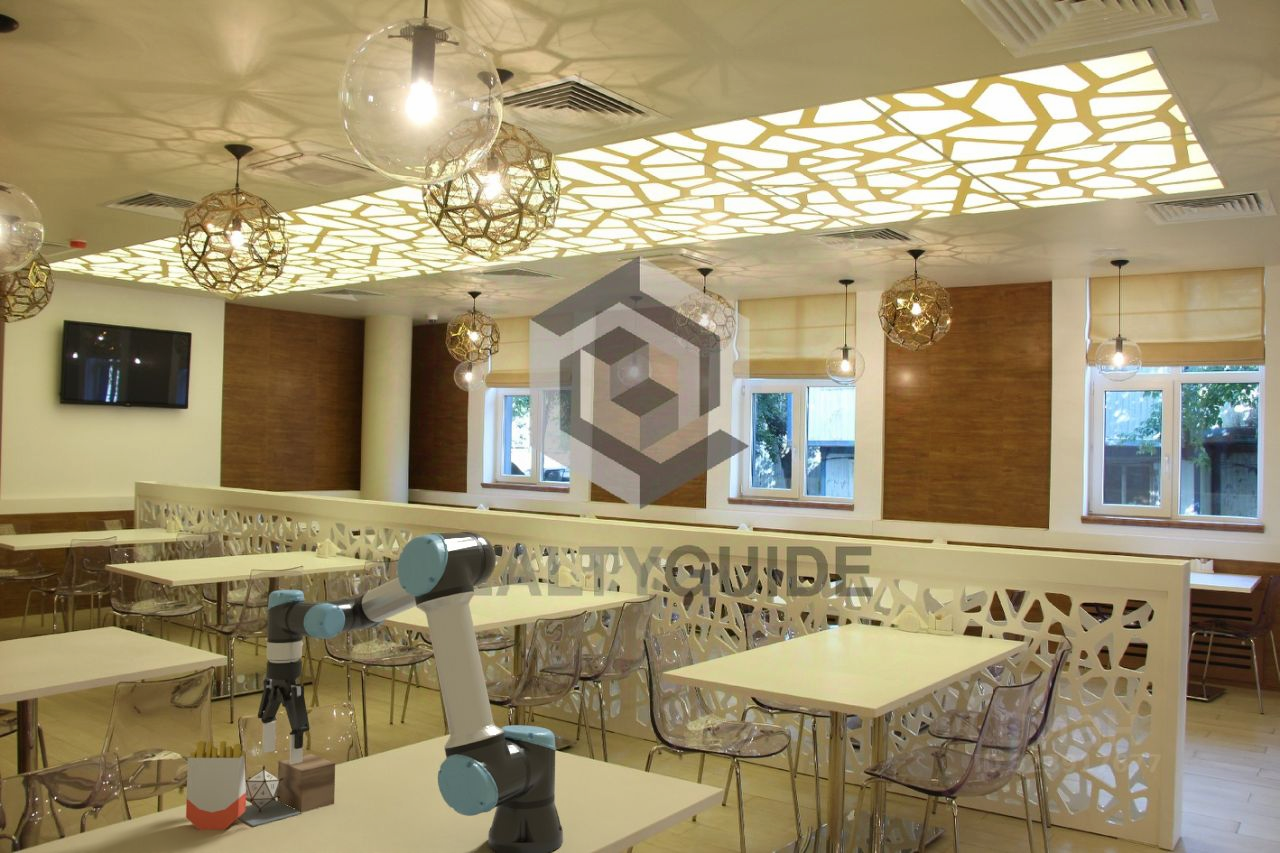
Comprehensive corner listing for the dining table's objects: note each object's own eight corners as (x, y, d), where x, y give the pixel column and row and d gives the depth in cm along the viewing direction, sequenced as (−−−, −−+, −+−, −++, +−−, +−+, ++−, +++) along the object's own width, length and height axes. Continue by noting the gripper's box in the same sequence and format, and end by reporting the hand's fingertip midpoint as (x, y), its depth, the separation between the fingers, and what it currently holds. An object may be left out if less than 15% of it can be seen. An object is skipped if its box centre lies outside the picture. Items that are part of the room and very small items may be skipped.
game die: (299, 781, 219) (276, 807, 209) (274, 800, 221) (250, 827, 211) (272, 751, 218) (248, 776, 208) (247, 771, 220) (223, 796, 210)
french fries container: (195, 821, 209) (197, 736, 210) (245, 821, 209) (248, 736, 210) (185, 829, 204) (188, 742, 205) (237, 829, 204) (239, 742, 205)
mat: (301, 813, 214) (301, 812, 214) (253, 826, 206) (253, 825, 206) (273, 800, 223) (273, 799, 223) (225, 812, 214) (225, 810, 214)
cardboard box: (334, 803, 221) (335, 763, 221) (301, 812, 215) (302, 771, 215) (309, 792, 228) (310, 753, 229) (277, 800, 222) (278, 760, 223)
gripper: (327, 664, 213) (325, 764, 212) (274, 650, 230) (272, 743, 229) (295, 669, 208) (292, 772, 207) (243, 654, 224) (241, 750, 223)
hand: (282, 757), depth 218 cm, fingers open, 12 cm apart
